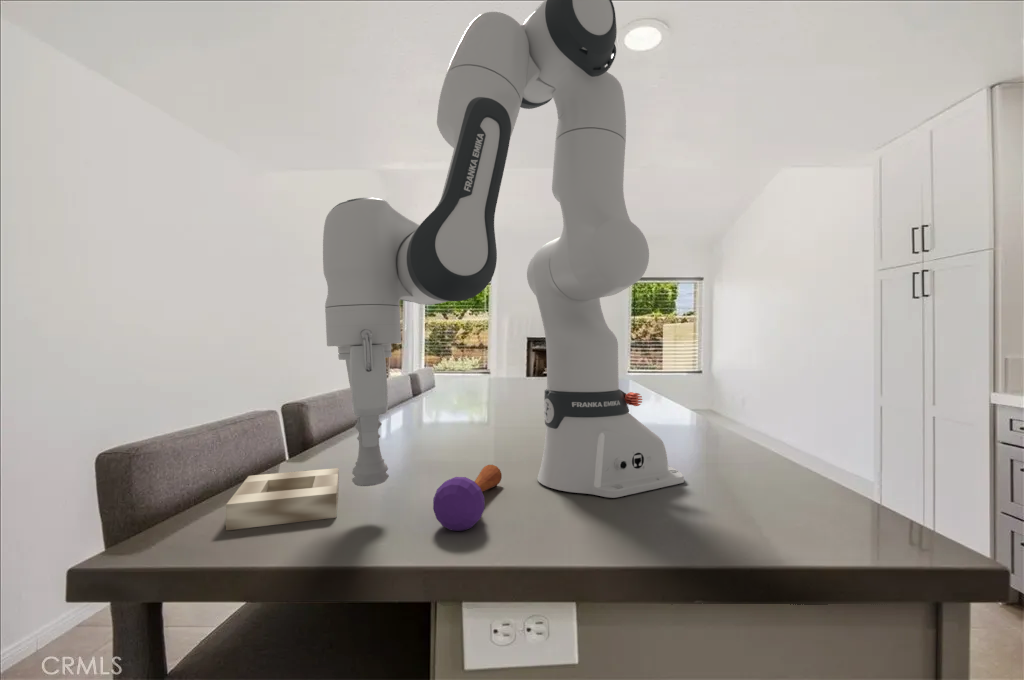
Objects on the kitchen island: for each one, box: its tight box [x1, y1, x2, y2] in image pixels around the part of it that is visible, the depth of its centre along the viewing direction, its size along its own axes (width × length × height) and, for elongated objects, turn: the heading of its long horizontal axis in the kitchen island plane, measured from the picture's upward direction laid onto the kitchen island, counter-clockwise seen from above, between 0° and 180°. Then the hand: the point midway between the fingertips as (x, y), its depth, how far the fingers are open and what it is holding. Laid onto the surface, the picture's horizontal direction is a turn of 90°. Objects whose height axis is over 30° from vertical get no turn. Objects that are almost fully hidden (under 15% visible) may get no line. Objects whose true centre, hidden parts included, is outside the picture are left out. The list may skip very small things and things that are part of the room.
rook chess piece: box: [351, 416, 390, 487], centre depth 59 cm, size 4×4×8 cm
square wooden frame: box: [225, 467, 340, 531], centre depth 63 cm, size 12×13×3 cm
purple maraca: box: [432, 464, 503, 532], centre depth 62 cm, size 6×6×20 cm
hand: (369, 442), depth 59 cm, fingers closed on rook chess piece, 3 cm apart
